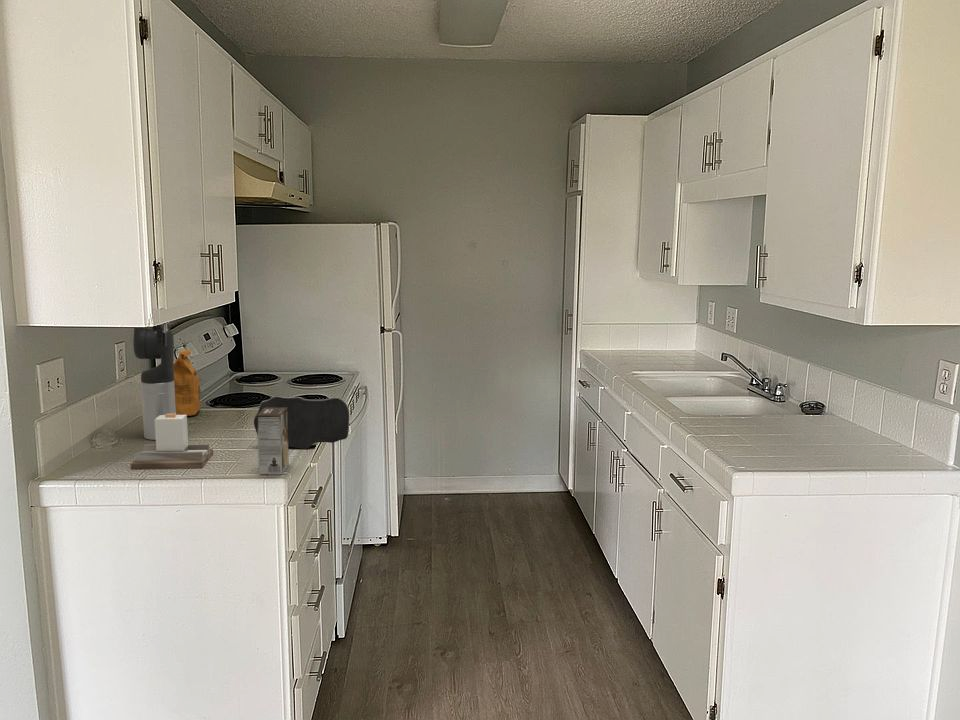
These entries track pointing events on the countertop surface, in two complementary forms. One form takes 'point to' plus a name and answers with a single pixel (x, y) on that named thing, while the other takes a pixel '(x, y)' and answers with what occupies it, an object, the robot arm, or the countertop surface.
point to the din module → (171, 433)
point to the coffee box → (272, 440)
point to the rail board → (172, 458)
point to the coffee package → (186, 386)
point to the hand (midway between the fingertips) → (162, 346)
